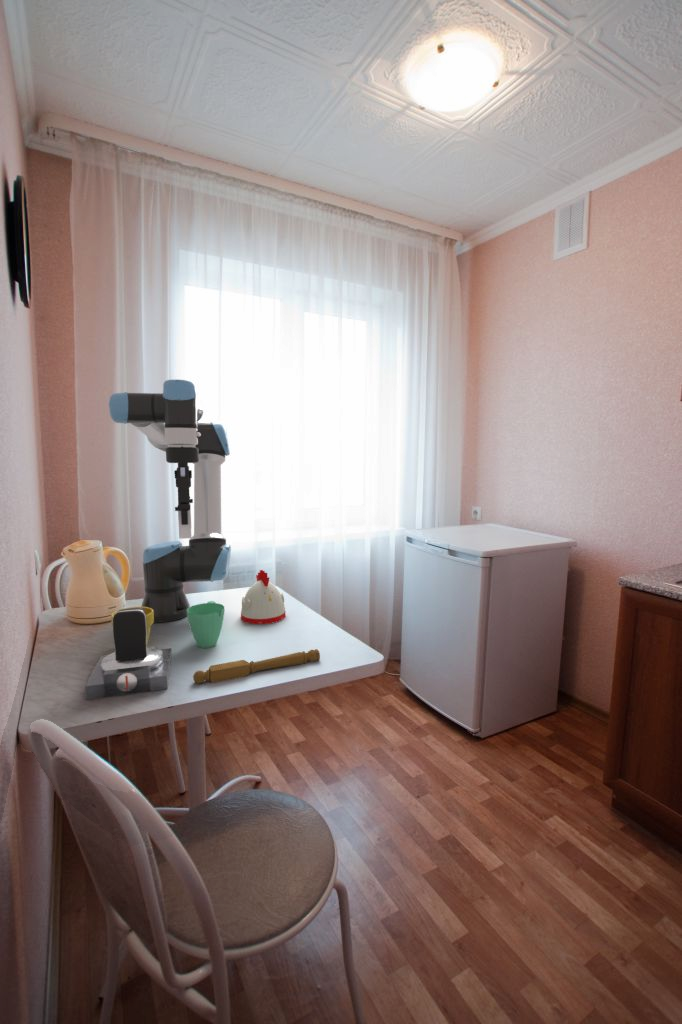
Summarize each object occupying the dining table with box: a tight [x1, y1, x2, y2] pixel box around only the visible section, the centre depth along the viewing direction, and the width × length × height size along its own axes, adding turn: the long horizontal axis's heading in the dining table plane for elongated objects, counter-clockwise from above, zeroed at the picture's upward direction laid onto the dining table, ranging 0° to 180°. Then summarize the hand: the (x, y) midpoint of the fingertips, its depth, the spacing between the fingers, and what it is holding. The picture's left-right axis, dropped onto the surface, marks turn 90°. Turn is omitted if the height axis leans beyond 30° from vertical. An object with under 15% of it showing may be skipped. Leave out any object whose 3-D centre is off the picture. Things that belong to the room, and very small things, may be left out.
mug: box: [186, 600, 225, 649], centre depth 130 cm, size 15×10×10 cm
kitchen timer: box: [240, 569, 286, 625], centre depth 150 cm, size 14×14×15 cm
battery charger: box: [112, 607, 147, 661], centre depth 109 cm, size 7×4×11 cm, turn 106°
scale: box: [84, 645, 173, 701], centre depth 109 cm, size 16×16×5 cm
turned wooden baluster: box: [192, 648, 321, 685], centre depth 112 cm, size 3×3×30 cm
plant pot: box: [110, 606, 155, 646], centre depth 126 cm, size 10×10×10 cm
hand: (185, 533), depth 117 cm, fingers open, 13 cm apart
